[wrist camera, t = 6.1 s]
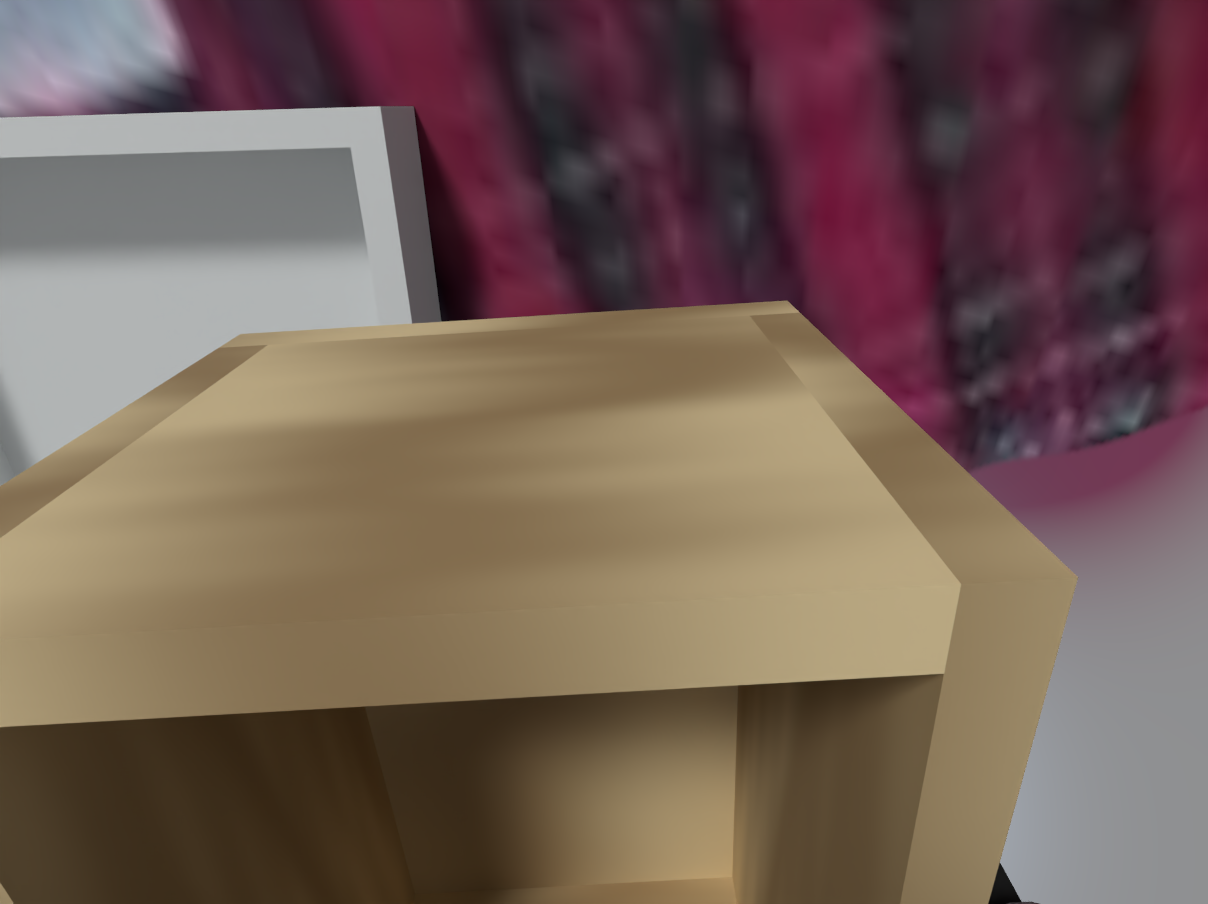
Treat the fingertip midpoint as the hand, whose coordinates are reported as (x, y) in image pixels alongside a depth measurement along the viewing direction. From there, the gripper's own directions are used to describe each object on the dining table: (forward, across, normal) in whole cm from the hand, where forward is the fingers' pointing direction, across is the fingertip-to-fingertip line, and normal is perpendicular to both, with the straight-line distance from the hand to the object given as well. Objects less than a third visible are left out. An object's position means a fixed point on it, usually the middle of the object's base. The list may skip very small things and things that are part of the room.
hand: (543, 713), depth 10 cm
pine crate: (+1, 0, 0) cm, 1 cm away
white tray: (+18, +14, 0) cm, 23 cm away
